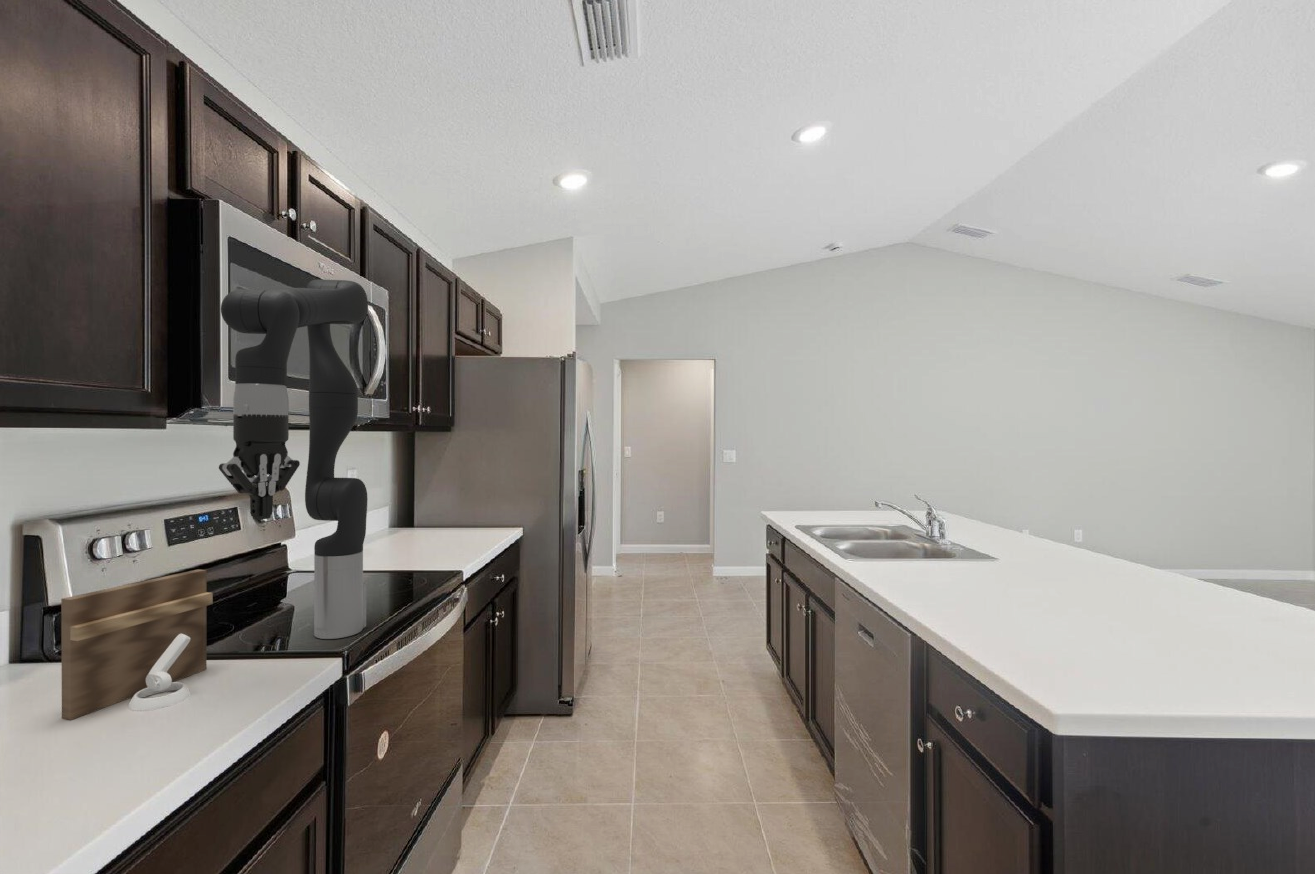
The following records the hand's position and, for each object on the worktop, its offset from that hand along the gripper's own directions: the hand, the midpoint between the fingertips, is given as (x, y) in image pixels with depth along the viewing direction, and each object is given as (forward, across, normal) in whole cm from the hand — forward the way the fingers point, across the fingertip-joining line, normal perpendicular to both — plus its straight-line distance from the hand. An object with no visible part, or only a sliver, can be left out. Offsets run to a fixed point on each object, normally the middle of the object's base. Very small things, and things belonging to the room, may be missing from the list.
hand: (261, 518), depth 98 cm
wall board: (+29, +5, -20) cm, 36 cm away
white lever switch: (+29, +6, -14) cm, 33 cm away
